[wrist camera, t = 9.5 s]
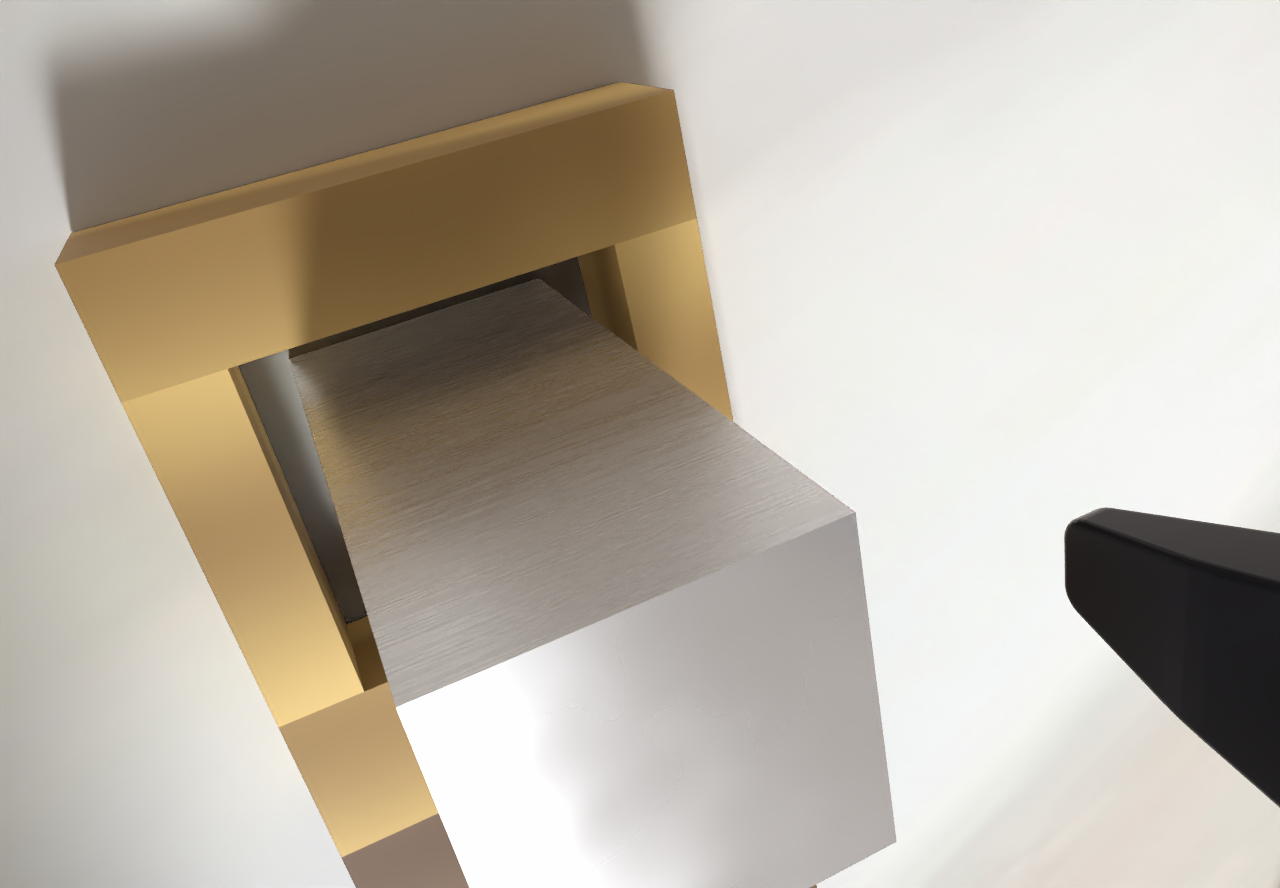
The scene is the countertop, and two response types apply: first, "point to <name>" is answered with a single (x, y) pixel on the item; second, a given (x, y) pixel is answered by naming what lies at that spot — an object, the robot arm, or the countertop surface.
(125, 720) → the countertop surface
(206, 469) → the wooden slotted board
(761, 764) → the peg
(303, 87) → the countertop surface
